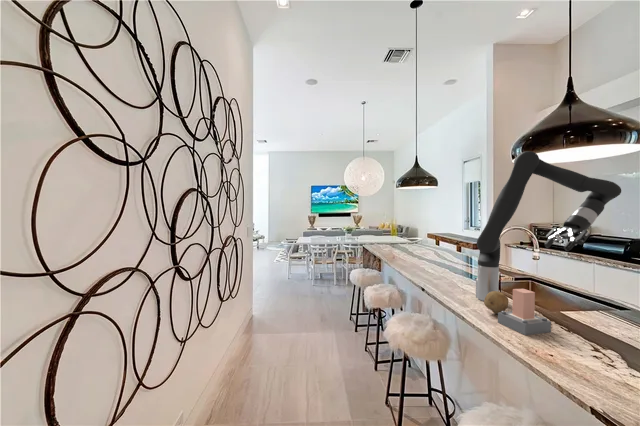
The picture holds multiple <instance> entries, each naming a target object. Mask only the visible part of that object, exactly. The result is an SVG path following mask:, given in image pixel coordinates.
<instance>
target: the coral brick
mask: <svg viewBox="0 0 640 426" xmlns="http://www.w3.org/2000/svg"><path fill="white" fill-rule="evenodd" d="M511 304H512V306H511V307H512V308H511V311H512V314H513V315H515V316H518V317H520V318H522V319H530V318H534V315H535V311H536V310H535V309H536V307H535V306H536V305H535V304H536V292H535V291H532V290H528V289H525V288H513V289H512V303H511Z"/></svg>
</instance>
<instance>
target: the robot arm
mask: <svg viewBox="0 0 640 426" xmlns="http://www.w3.org/2000/svg"><path fill="white" fill-rule="evenodd" d="M532 175H536V176H540V177H542V178H545V179H548V180H550V181H552V182H555V183H557V184H559V185H561V186H563V187H565V188H568V189H571V190H572V191H574V192H577V193H585V192H590V193H589V194H588V195H587V197H586V199H585V200H584V201H583V202H582V203H581V204H580V206H579V207H578V208H576V210H574V211H572V213H571V214H570V216H569V217H567V218H566V220H565V221H564V222H563V226H562V227H561V228H557V227H556V226H555V227H553V228H551V230H550V231H549V232H548V233H547V234H546V235H545V237H546V238H547V240H546V241H545V242H544V247H545V248H546V249H549V248H551V246H552V245H554V243H555V242H557V241H562V240H567V243H566V244H564V247H563V249H564V250H565V252H569V251H571V250H572V249H573V248H574V247H575V246H577V245H583V244H584V243H585V242H586V241H587V239H588V238H589V237H590V236H591V233H590V232H589V231H588V229H590V227H591V226H593V224H594V223H595V221H596V220H597V218H598V217H599V216H600V215H601V213H602V212H604V210H605V206H606V205H607V204H608V203H609V202H610V201H612V200H614V199H615V198H617V197H618V196H620V195H621V193H622V188H621V186H620V185H619V184H617V183H616V182H613V181H610V180H607V179H601V178H597V177H596V178H595V177H589V176H587V175H584V174H582V173H579V172H576V171H574V170H571V169H568V168H564V167H559V166H557V165H554V164H551V163H549V162H546V161H544V160H542V159H541V158H539V155H538V154H537V153H536V152H534V151H531V150H529V151H528V150H527V151H523V152H520V153H519V154H518V155H517V156H516V157H515V158H514V161H513V168H512V170H511V173H510V176H509V178H508V179H507V181H506V183H505V184H504V186H503V187H502V189H501V190H500V192H499V194H498V196H497V197H496V200H495V202H494V205H493V207H492V209H491V212H490V215H489V216H488V221H487V223H486V224H485V226H484V228H483V230H482V231H481V233H480V235H478V238H477V241H476V247H477V249H478V250H479V256H478V259H477V278H476V279H475V298H477V299H478V300H480V301H482V302H484V299H485V297H486V295H487V294H488V293H490V292H492V291H498V292H499V285H500V284H499V283H500V282H499V280H500V279H499V278H500V277H499V276H500V274H499V271H500V267H499V266H500V260H501V239H500V238H501V235H502V232H503V230H504V228H505V227H506V226H507V224H509V222H510V221H511V219H512V217H513V216H514V215H515V213H516V211H517V209H518V206H519V205H520V202H521V200H522V198H523V195H524V192H525V189H526V187H527V184H528V182H529V180H530V178H531V177H532ZM568 240H569V241H568Z"/></svg>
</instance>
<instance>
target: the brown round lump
mask: <svg viewBox="0 0 640 426" xmlns="http://www.w3.org/2000/svg"><path fill="white" fill-rule="evenodd" d="M509 303H510V301H509V298H508V296H506V294H505V293H504V292H502V291H499V290H498V291H492V292H490V293H488V294H487V295H486V297H485V299H484V301H483V305H484V306H485V307H486V308H487V309H488V310H490V311H491V312H493V313H494V314H496V315H498V313H499V312H501V311H506V310H507V308H508V306H509Z"/></svg>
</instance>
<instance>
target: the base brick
mask: <svg viewBox="0 0 640 426" xmlns="http://www.w3.org/2000/svg"><path fill="white" fill-rule="evenodd" d="M497 323H498V324H500V325H503V326H504V327H507V328H508V329H511V330H513V331H515V332H518V333H519V334H521V335H524V336H529V335H538V334H544V333H545V334H546V333H547V334H548V333H551V332H552V321H551V320H548V318H547V317H540V316H538V315H535V314H534V318H530V319H522V318H520V317H518V316H515V315H513V314H512V310H511V311H506V310H505V311H501V312H499V313H498V314H497Z"/></svg>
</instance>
